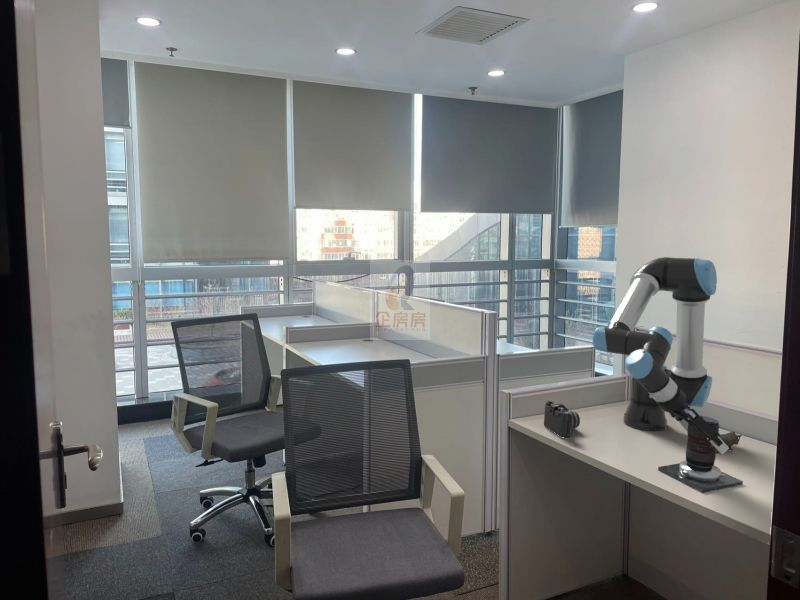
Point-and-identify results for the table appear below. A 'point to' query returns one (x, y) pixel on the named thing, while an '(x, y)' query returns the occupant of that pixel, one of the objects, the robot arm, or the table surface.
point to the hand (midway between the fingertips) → (709, 442)
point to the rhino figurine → (729, 439)
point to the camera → (560, 419)
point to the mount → (700, 477)
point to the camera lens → (700, 447)
